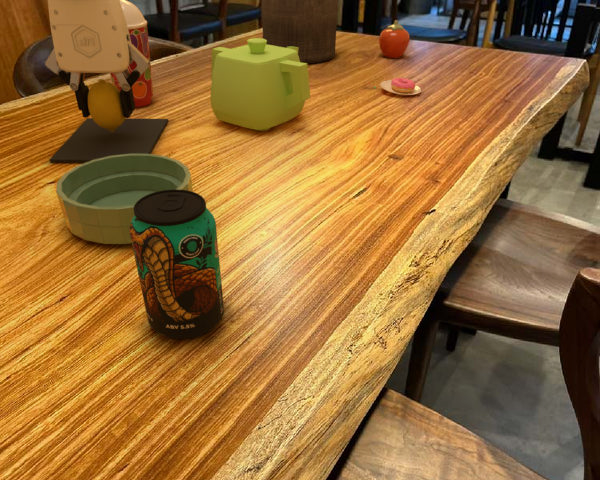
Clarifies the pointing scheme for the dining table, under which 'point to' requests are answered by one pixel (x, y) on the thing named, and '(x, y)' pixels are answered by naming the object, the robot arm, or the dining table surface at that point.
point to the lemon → (105, 105)
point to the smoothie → (140, 41)
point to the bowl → (115, 193)
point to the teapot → (258, 84)
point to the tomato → (394, 41)
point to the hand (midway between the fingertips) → (108, 113)
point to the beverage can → (177, 263)
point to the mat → (110, 140)
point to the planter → (302, 27)
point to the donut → (400, 86)
